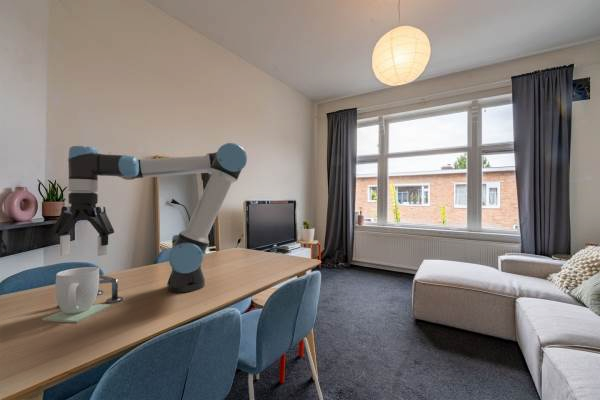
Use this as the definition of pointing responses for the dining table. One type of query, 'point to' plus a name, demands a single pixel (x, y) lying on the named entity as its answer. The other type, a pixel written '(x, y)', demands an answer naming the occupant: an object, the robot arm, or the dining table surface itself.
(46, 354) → the dining table surface
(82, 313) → the pad
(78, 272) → the mug
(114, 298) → the small metal rack
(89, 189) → the robot arm
